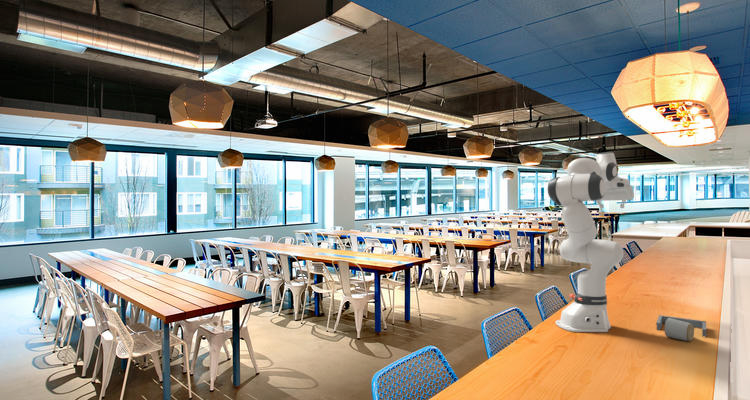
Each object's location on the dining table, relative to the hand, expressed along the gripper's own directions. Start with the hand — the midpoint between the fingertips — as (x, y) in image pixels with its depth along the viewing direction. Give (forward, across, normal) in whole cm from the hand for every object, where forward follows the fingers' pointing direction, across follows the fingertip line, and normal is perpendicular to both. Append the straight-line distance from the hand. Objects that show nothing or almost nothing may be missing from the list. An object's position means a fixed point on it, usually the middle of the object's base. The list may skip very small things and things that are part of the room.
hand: (611, 207), depth 204 cm
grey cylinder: (+39, +31, -48) cm, 69 cm away
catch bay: (+43, +30, -34) cm, 63 cm away
